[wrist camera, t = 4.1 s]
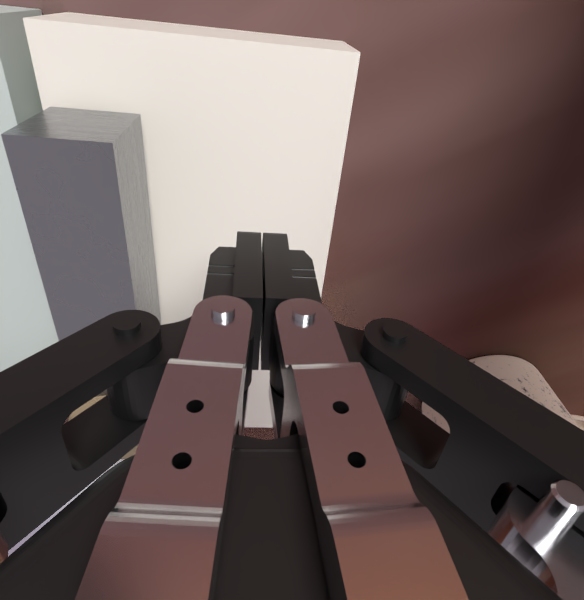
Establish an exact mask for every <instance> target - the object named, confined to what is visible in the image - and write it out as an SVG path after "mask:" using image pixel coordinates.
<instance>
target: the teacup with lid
mask: <svg viewBox="0 0 584 600" xmlns="http://www.w3.org/2000/svg"><path fill="white" fill-rule="evenodd" d="M469 361H470V362H472V363H473V364H475V365H477V366H478V367H480V368H482V369H483V370H485V371H487V372H488V373H490V374H491V375H493V376H495V377H496V378H498V379H500V380H501V381H503V382H505V383H506V384H508V385H510V386H511V387H513V388H514V389H516V390H518V391H519V392H521V393H523V394H524V395H526V396H528V397H529V398H531V399H532V400H534V401H536V402H537V403H539V404H541V405H542V406H544V407H546V408H547V409H549V410H551V411H552V412H554V413H555V414H557V415H559V416H560V417H562V418H564V419H565V420H567V421H569V422H570V423H572V424H573V425H575V426H577V427H578V428H580V429H582V430H583V431H584V417H583V416H579V415H571V414H569V412H568V411H567V410H566V408H565V407H564V405H563V404H562V403H561V401H560V400H559V398H558V397H557V396H556V394H555V393H554V392H553V390H552V389H551V387H550V386H549V385H548V383H547V382H546V380H545V379H544V378H543V376H542V375H541V374H540V372H539V371H538V370H537V369H536V368H535V367H534V366H533V365H532V364H531V363H529V362H527V361H525V360H523V359H521V358H518V357H514V356H508V355H488V356H482V357H477V358H474V359H470V360H469ZM422 414H423V415H425V416H426V417H428V418H429V419H430V420H432V421H433V422H434V423H436V424H437V425H438V426H440V427H441V428H442V429H444V430H445V431H447V432H448V433H449V434H450V428H449V425H448V423H447V421H446V420H445V419H444V417H443V416H442V415H440V414H439V413H438V412H436V411H435V410H434V409H432V408H431V407H430V406H428V405H427V404H425V403H424V402H422Z"/></svg>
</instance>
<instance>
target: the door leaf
mask: <svg viewBox="0 0 584 600" xmlns="http://www.w3.org/2000/svg"><path fill="white" fill-rule="evenodd" d="M41 15H42V11H41V9H33V8H24V7H14V6H5V5H0V372H1V371H3V370H5V369H7V368H9V367H11V366H13V365H15V364H17V363H18V362H20V361H22V360H24V359H26V358H28V357H30V356H32V355H34V354H35V353H37V352H39V351H41V350H43V349H45V348H47V347H49V346H51V345H53V344H54V343H56V342H58V341H59V340H58V336H57V333H56V329H55V326H54V322H53V319H52V315H51V311H50V308H49V304H48V301H47V297H46V294H45V290H44V286H43V283H42V279H41V276H40V272H39V269H38V265H37V261H36V258H35V254H34V251H33V247H32V244H31V240H30V236H29V233H28V229H27V226H26V222H25V219H24V215H23V212H22V208H21V204H20V201H19V197H18V194H17V190H16V187H15V183H14V179H13V176H12V172H11V169H10V165H9V162H8V158H7V154H6V151H5V147H4V144H3V140H2V137H1V134H2V133H4V132H6V131H7V130H9V129H11V128H13V127H15V126H16V125H18V124H20V123H22V122H24V121H25V120H27V119H29V118H31V117H32V116H34V115H36V114H38V113H40V112H41V111H43V109H42V104H41V100H40V95H39V90H38V86H37V81H36V77H35V72H34V68H33V63H32V59H31V54H30V49H29V45H28V40H27V36H26V31H25V27H24V22H23V18H25V17H33V16H41Z"/></svg>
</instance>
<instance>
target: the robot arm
mask: <svg viewBox="0 0 584 600" xmlns="http://www.w3.org/2000/svg"><path fill="white" fill-rule="evenodd" d="M260 346H261V370H270V381H269V401H270V409H271V416H272V423H273V431H274V438H275V439H273V440H261V439H256V438H251V437H247V436H243V435H244V427H245V418H246V410H247V401H248V390H249V386H250V384H251V380H252V370H258V368H259V353H260ZM105 390H107V394H108V395H107V396H105V397H104V398H102V399H101V400H99V401H98V402H96V403H95V404H93V405H92V406H90V407H89V408H87V409H86V410H84V411H83V412H81V413H80V414H78V415H77V416H76V417H74V418H73V419H71V420H70V421H68V422H67V423H65V424H64V422H65V420H66V419H67V417H68V416H69V415H70V414H71V413H72V412H73V411H75V410H76V409H78V408H79V407H81V406H82V405H84V404H85V403H87V402H88V401H90V400H91V399H93V398H94V397H96V396H97V395H99V394H100V393H102V392H103V391H105ZM408 391H409V392H410V393H411V394H413V395H414V396H416V397H417V398H418V399H420V400H421V401H423V402H424V403H425V404H427V405H428V406H430V407H431V408H432V409H434V410H435V411H436V412H438V413H439V414H440V415H442V416H443V417H444V419H445V420H446V421H447V423H448V425H449V428H450V434H449V433H448V432H447V431H445V430H444V429H442V428H441V427H440V426H438V425H437V424H436V423H434V422H433V421H432V420H430V419H429V418H428V417H426V416H425V415H423V414H422V413H421V412H419V411H418V410H417V409H415V408H414V407H413V406H411V405H410V404H409V403H407V402H406V401H405V398H406V395H407V392H408ZM63 424H64V425H63ZM137 445H138V447H137V450H136V453H135V455H133V456H130V457H129V458H127V459H125V460H123V461H122V462H120V463H118V464H117V465H115V466H114V467H112V468H111V469H110V470H108V471H107V472H106V473H104V472H105V471H106V470H107V469H109V468H110V467H111V466H112V465H113V464H115V463H116V462H117V461H118V460H120V459H121V458H122V457H123V456H124V455H126V454H127V453H128V452H129V451H131V450H132V449H133V448H134V447H135V446H137ZM102 473H104V474H103V475H102V476H101V477H99V476H100V475H101V474H102ZM98 477H99V478H98ZM96 478H98V479H97V480H96V481H95V482H94V483H93V484H91V485H90V486H89V487H88V488H87V489H86V490H84V491H83V492H82V493H81V494H80V495H79V496H78V497H77V498H75V499H74V500H73V501H72V502H71V503H70V504H68V505H67V506H66V507H65V508H64V509H63V510H62V511H60V512H59V513H58V514H57V515H56V516H55V517H53V518H52V519H51V520H50V521H49V522H48V523H47V524H46V525H44V526H43V527H42V528H41V529H40V530H39V531H37V532H36V533H35V534H34V535H33V536H32V537H30V538H29V539H28V540H27V541H26V542H25V543H24V544H22V545H21V546H20V547H19V548H18V549H17V550H16V551H15V552H13V553H12V554H11V555H10V556H9V557H8V551H9V550H10V549H11V548H12V547H13V546H15V545H16V544H17V543H18V542H20V541H21V540H22V539H23V538H24V537H26V536H27V535H28V534H29V533H30V532H32V531H33V530H34V529H35V528H37V527H38V526H39V525H40V524H41V523H43V522H44V521H45V520H46V519H48V518H49V517H50V516H51V515H52V514H54V513H55V512H56V511H57V510H59V509H60V508H61V507H62V506H63V505H65V504H66V503H67V502H68V501H70V500H71V499H72V498H73V497H74V496H75V495H77V494H78V493H79V492H80V491H82V490H83V489H84V488H85V487H87V486H88V485H89V484H90V483H91V482H93V481H94V480H95V479H96ZM0 600H584V431H583V430H582V429H580V428H578V427H577V426H575V425H573V424H572V423H570V422H569V421H567V420H565V419H564V418H562V417H560V416H559V415H557V414H555V413H554V412H552V411H551V410H549V409H547V408H546V407H544V406H542V405H541V404H539V403H537V402H536V401H534V400H532V399H531V398H529V397H528V396H526V395H524V394H523V393H521V392H519V391H518V390H516V389H514V388H513V387H511V386H510V385H508V384H506V383H505V382H503V381H501V380H500V379H498V378H496V377H495V376H493V375H491V374H490V373H488V372H487V371H485V370H483V369H482V368H480V367H478V366H477V365H475V364H473V363H472V362H470V361H469V360H467V359H465V358H464V357H462V356H460V355H459V354H457V353H455V352H454V351H452V350H450V349H449V348H447V347H446V346H444V345H442V344H441V343H439V342H437V341H436V340H434V339H432V338H431V337H429V336H428V335H426V334H424V333H423V332H421V331H419V330H418V329H416V328H414V327H413V326H411V325H409V324H407V323H405V322H403V321H400V320H396V319H390V318H381V319H376V320H373V321H371V322H370V323H368V324H367V325H366V327H365V330H364V331H362V330H358V329H354V328H350V327H346V326H344V325H341V324H339V323H337V322H335V321H334V320H333V317H332V314H331V312H330V310H329V309H328V308H327V307H326V306H325V305H323V304H322V301H321V297H320V292H319V288H318V283H317V279H316V274H315V271H314V265H313V260H312V258H311V257H310V256H309V255H308V254H307V253H306V252H305V251H304V250H289V244H288V237H287V234H283V233H263V239H262V244H261V232H242V231H237V241H236V247H220V246H219V247H218V248H217V249H216V250H215V251H214V252H213V253H212V254H210V259H209V266H208V271H207V277H206V283H205V288H204V294H203V300H202V301H201V302H199V303H198V304H197V305H196V306H195V308H194V311H193V314H192V316H191V317H189V318H187V319H185V320H182V321H179V322H175V323H169V324H164V325H160V322H159V320H158V318H157V317H156V316H154V315H153V314H151V313H149V312H146V311H142V310H123V311H119V312H115V313H112V314H110V315H108V316H106V317H104V318H102V319H100V320H98V321H96V322H94V323H92V324H91V325H89V326H87V327H85V328H83V329H81V330H79V331H77V332H75V333H73V334H72V335H70V336H68V337H66V338H64V339H62V340H60V341H58V342H56V343H54V344H53V345H51V346H49V347H47V348H45V349H43V350H41V351H39V352H37V353H35V354H34V355H32V356H30V357H28V358H26V359H24V360H22V361H20V362H18V363H17V364H15V365H13V366H11V367H9V368H7V369H5V370H3V371H1V372H0Z"/></svg>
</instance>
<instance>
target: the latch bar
mask: <svg viewBox="0 0 584 600" xmlns="http://www.w3.org/2000/svg"><path fill="white" fill-rule="evenodd" d="M1 137H2V140H3V144H4V147H5V151H6V154H7V158H8V162H9V165H10V169H11V172H12V176H13V179H14V183H15V187H16V190H17V194H18V197H19V201H20V204H21V208H22V212H23V215H24V219H25V222H26V226H27V229H28V233H29V236H30V240H31V244H32V247H33V251H34V254H35V258H36V261H37V265H38V269H39V272H40V276H41V279H42V283H43V286H44V290H45V294H46V297H47V301H48V304H49V308H50V311H51V315H52V319H53V322H54V326H55V329H56V333H57V336H58V340H59V341H60V340H62V339H64V338H66V337H68V336H70V335H72V334H73V333H75V332H77V331H79V330H81V329H83V328H85V327H87V326H89V325H91V324H92V323H94V322H96V321H98V320H100V319H102V318H104V317H106V316H108V315H110V314H112V313H115V312H119V311H123V310H142V311H146V312H149V313H151V314H153V315H154V316H156V317H157V318H158V320H159V322H160V325H161V316H160V306H159V296H158V286H157V276H156V266H155V256H154V246H153V236H152V226H151V216H150V206H149V196H148V186H147V176H146V166H145V156H144V146H143V136H142V125H141V115H140V114H134V113H122V112H110V111H98V110H86V109H74V108H62V107H51V106H50V107H49V108H47V109H45V110H43V111H41V112H40V113H38V114H36V115H34V116H32V117H31V118H29V119H27V120H25V121H24V122H22V123H20V124H18V125H16V126H15V127H13V128H11V129H9V130H7V131H6V132H4V133H2V134H1ZM107 395H108V394H107V390H105V391H103V392H102V393H100V394H99V395H97V396H96V397H94V398H93V399H91V400H90V401H88V402H87V403H85V404H84V405H82V406H81V407H79V408H78V409H76V410H75V411H73V412H72V413H71V415H70V417H69V419H68V421H70V420H71V419H73V418H74V417H76V416H77V415H78V414H80V413H81V412H83V411H84V410H86V409H87V408H89V407H90V406H92V405H93V404H95V403H96V402H98V401H99V400H101V399H102V398H104V397H105V396H107ZM137 447H138V445H137V446H135V447H134V448H133V449H132V450H131V451H129V452H128V453H127V454H126V455H124V456H123V457H122V458H121V459H127V458H129V457H130V456H133V455H135V453H136V450H137Z"/></svg>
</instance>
